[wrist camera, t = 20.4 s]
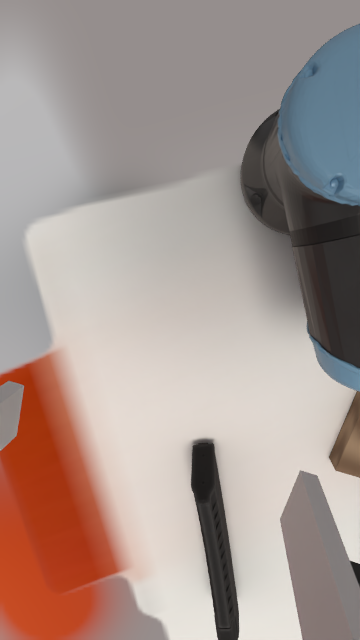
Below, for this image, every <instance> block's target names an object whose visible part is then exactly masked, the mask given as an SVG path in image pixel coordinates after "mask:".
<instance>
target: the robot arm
mask: <svg viewBox="0 0 360 640" xmlns="http://www.w3.org/2000/svg"><path fill="white" fill-rule="evenodd" d="M241 186H242V191H243V195H244V198H245V201H246V203H247V205H248V207H249V208H250V210H251V212H252V213H253V214H254V215H255V217H256V218H257V219H258V220H259V221H261V222H262V223H263V224H264V225H266V226H267V227H269V228H271V229H273V230H275V231H278V232H281V233H285V234H290V236H291V240H292V248H293V253H294V258H295V263H296V268H297V272H298V277H299V282H300V287H301V292H302V297H303V302H304V307H305V311H306V316H307V332H308V334H309V337H310V339H311V341H312V342H313V345H314V349H315V353H316V357H317V360H318V362H319V364H320V366H321V367H322V369H323V370H324V371H325V372H326V373H327V374H328V375H329V376H330V377H331V378H332V379H334V380H335V381H337V382H338V383H340V384H342V385H344V386H346V387H348V388H351V389H353V390H356V391H359V392H360V24H358V25H356V26H353V27H351V28H349V29H347V30H344V31H343V32H341V33H339V34H338V35H336V36H335V37H333V38H332V39H330V40H329V41H328V42H327V43H325V44H324V45H323V46H322V47H321V48H320V49H319V50H318V51H317V52H316V53H315V54H314V55H313V56H312V57H311V58H310V60H309V61H308V62H307V63H306V65H305V66H304V67H303V69H302V70H301V71H300V72H299V73H298V75H297V76H296V77H295V78H294V79H293V81H292V84H291V85H290V86H289V88H288V89H287V91H286V93H285V95H284V97H283V99H282V103H281V108H280V109H279V110H277V111H276V112H275V113H273V114H272V115H270V116H269V117H268V118H267V119H266V120H265V121H264V122H263V123H262V124H261V125H260V126H259V128H258V129H257V130H256V131H255V133H254V135H253V136H252V138H251V140H250V142H249V144H248V146H247V148H246V151H245V154H244V158H243V162H242V167H241ZM23 390H24V385H21V384H18V383H14V382H11V381H8V382H6V383H5V384H3V385H2V386H0V451H1V450H2V449H3V448H4V447H5V446H6V445H7V444H8V443H9V442H10V441H11V440H12V439H14V438H15V437H16V436H17V430H18V423H19V416H20V410H21V403H22V396H23ZM280 522H281V527H282V532H283V538H284V543H285V548H286V554H287V559H288V564H289V569H290V575H291V580H292V585H293V591H294V596H295V601H296V607H297V612H298V617H299V622H300V628H301V633H302V638H303V640H360V564H358V563H355V562H352V561H349V558H348V555H347V553H346V550H345V547H344V545H343V542H342V539H341V537H340V534H339V532H338V529H337V526H336V524H335V521H334V518H333V516H332V513H331V511H330V508H329V505H328V503H327V500H326V497H325V495H324V492H323V489H322V487H321V484H320V482H319V479H318V476H317V475H313V474H310V473H307V472H304V471H300V472H299V475H298V477H297V479H296V482H295V484H294V487H293V489H292V492H291V494H290V496H289V499H288V501H287V504H286V506H285V509H284V511H283V513H282V516H281V518H280Z"/></svg>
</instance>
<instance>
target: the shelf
mask: <svg viewBox="0 0 360 640" xmlns="http://www.w3.org/2000/svg"><path fill="white" fill-rule="evenodd" d="M329 458H330V460H331V462H332V464H333V466H334V468H335V470H336V471H339V472H343V473H346V474H349V475H353V476H356V477H360V392H359V391H357V393H356V396H355V398H354V400H353V403H352V405H351V407H350V410H349V412H348V414H347V417H346V419H345V421H344V424H343V426H342V428H341V431H340V433H339V435H338V438H337V440H336V442H335V445H334V447H333V449H332V452H331V454H330V456H329Z"/></svg>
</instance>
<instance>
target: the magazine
mask: <svg viewBox="0 0 360 640" xmlns="http://www.w3.org/2000/svg"><path fill="white" fill-rule="evenodd" d="M191 487H192V491H193V493H194V497H195V502H196V505H197V511H198V515H199V521H200V525H201V532H202V536H203V542H204V547H205V553H206V559H207V565H208V573H209V578H210V585H211V592H212V599H213V607H214V613H215V623H216V631H217V637H218V640H238V637H239V610H238V602H237V594H236V587H235V581H234V573H233V566H232V559H231V551H230V544H229V537H228V531H227V524H226V517H225V511H224V505H223V498H222V492H221V486H220V481H219V475H218V469H217V463H216V458H215V450H214V444H213V443H212V444H208V443H199V444H198V445H193V450H192V476H191Z"/></svg>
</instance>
